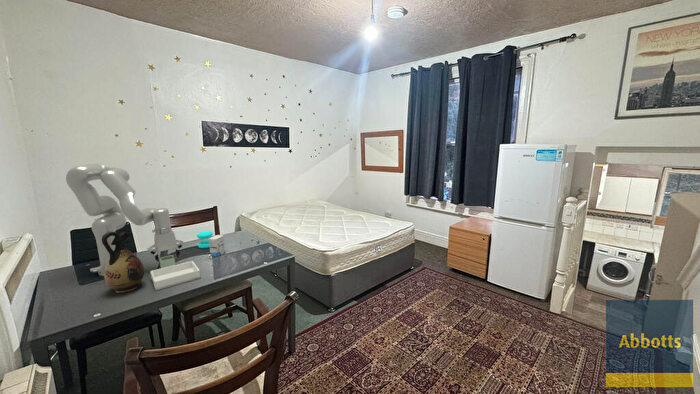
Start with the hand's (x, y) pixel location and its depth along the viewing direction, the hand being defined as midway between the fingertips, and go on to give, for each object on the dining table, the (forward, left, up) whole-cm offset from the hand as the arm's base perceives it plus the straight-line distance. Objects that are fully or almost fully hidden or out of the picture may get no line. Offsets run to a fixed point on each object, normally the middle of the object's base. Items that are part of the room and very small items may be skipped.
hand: (168, 258), depth 161 cm
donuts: (+25, +23, -6) cm, 35 cm away
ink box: (+27, +3, -6) cm, 28 cm away
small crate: (-1, 0, -6) cm, 6 cm away
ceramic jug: (-21, -14, -6) cm, 26 cm away
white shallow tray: (0, -18, -6) cm, 19 cm away
